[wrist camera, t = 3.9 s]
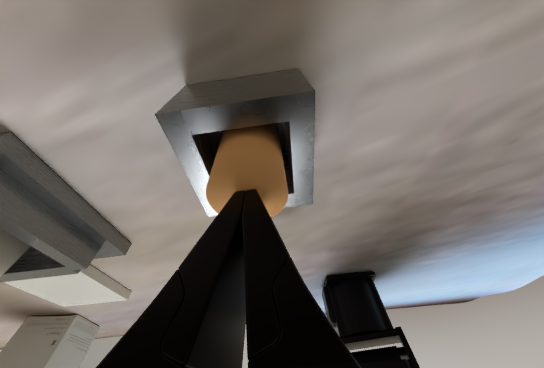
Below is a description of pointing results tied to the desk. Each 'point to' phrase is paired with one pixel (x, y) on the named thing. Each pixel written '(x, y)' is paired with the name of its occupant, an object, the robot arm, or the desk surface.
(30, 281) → the pad
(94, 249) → the frame
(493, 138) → the desk surface
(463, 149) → the desk surface
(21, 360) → the supplement box
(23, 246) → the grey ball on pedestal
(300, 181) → the block
